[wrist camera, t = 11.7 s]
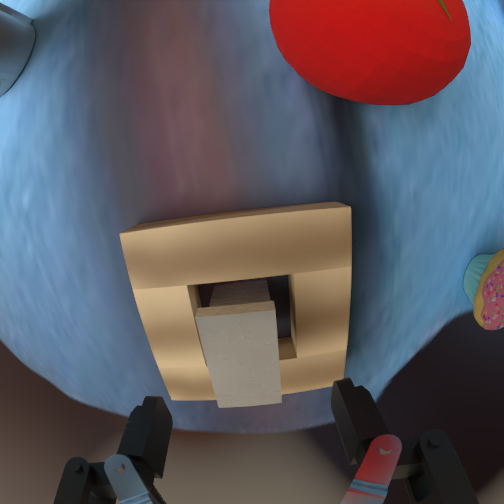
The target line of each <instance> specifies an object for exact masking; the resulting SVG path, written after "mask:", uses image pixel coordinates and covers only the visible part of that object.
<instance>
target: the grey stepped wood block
mask: <svg viewBox="0 0 504 504" xmlns="http://www.w3.org/2000/svg"><path fill="white" fill-rule="evenodd" d="M195 319H196V323H197V328H198V332H199V336H200V340H201V344H202V348H203V352H204V356H205V360H206V363H207V367H208V371H209V375H210V378H211V382H212V385H213V389H214V392H215V396H216V399H217V403H218V406H219V408H223V407H242V406H255V405H265V404H275V403H282V398H281V381H280V366H279V351H278V337H277V323H276V310H275V305H274V301H271V300H270V295H269V290H268V285H267V280H257V281H248V282H238V283H229V284H219V285H214V289H213V293H212V297H211V301H210V305H209V307H204V308H198V310H197V313H196V316H195Z"/></svg>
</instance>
